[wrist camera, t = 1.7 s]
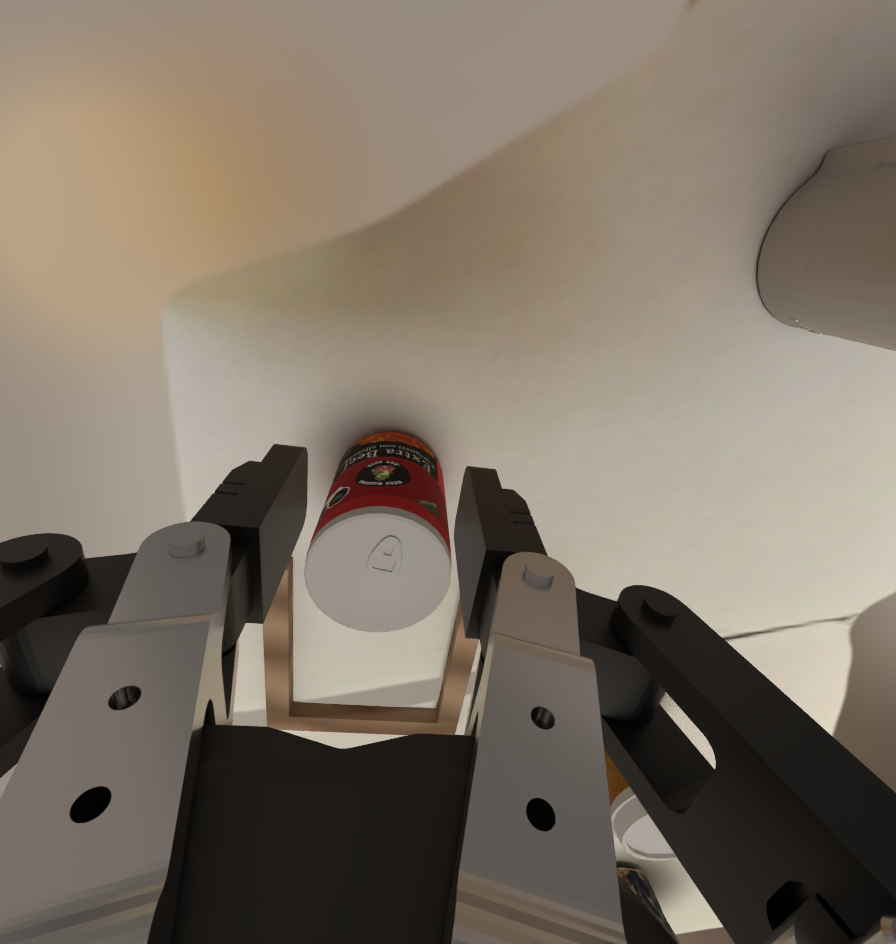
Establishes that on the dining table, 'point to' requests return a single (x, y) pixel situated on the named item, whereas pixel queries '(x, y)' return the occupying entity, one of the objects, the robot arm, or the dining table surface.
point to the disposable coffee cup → (633, 820)
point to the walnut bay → (354, 716)
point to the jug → (645, 894)
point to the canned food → (382, 537)
